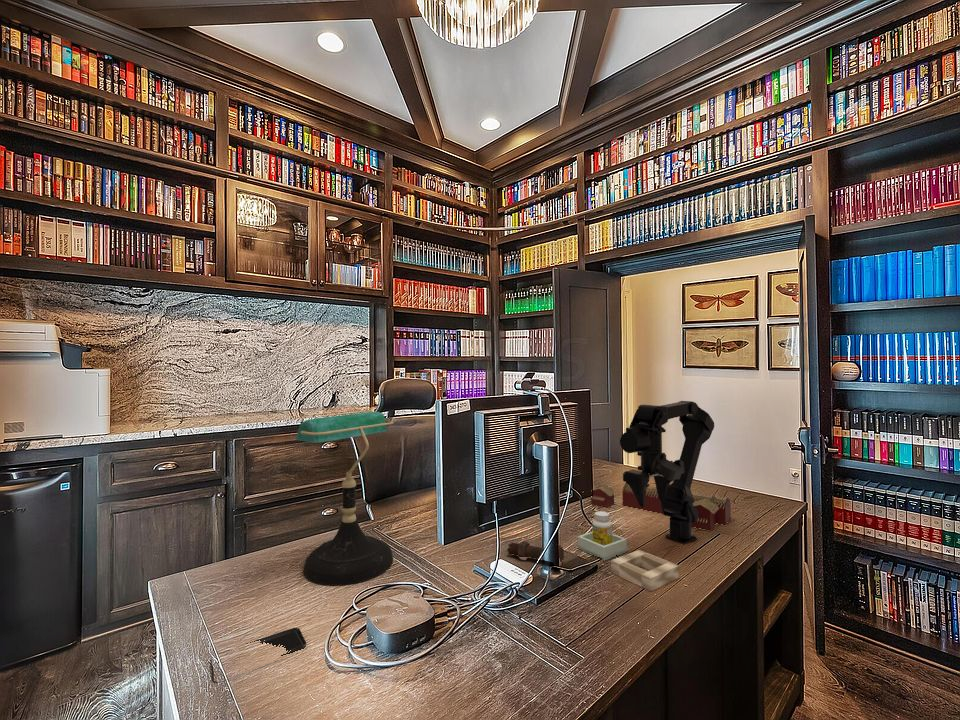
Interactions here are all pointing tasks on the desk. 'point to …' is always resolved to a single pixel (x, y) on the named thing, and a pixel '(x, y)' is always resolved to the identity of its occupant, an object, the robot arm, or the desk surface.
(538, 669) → the desk surface
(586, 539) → the tray
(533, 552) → the brown long lumpy piece
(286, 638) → the phone
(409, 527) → the desk surface
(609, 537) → the supplement bottle
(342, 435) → the banker's lamp
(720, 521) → the toy houses
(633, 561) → the socket block
